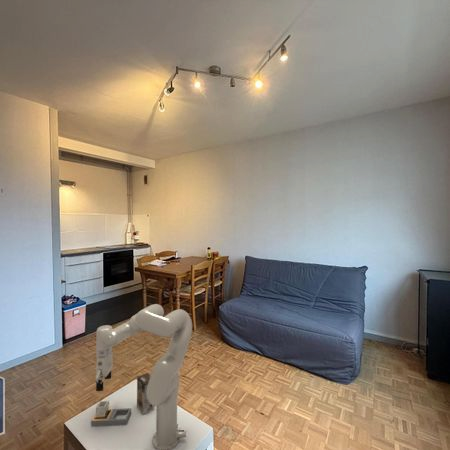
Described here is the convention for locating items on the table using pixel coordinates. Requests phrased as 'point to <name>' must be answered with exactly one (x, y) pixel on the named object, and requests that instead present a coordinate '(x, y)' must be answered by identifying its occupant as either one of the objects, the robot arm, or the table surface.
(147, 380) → the coffee box
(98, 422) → the frame with rectangular openings
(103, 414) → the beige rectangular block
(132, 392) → the table surface
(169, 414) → the robot arm
